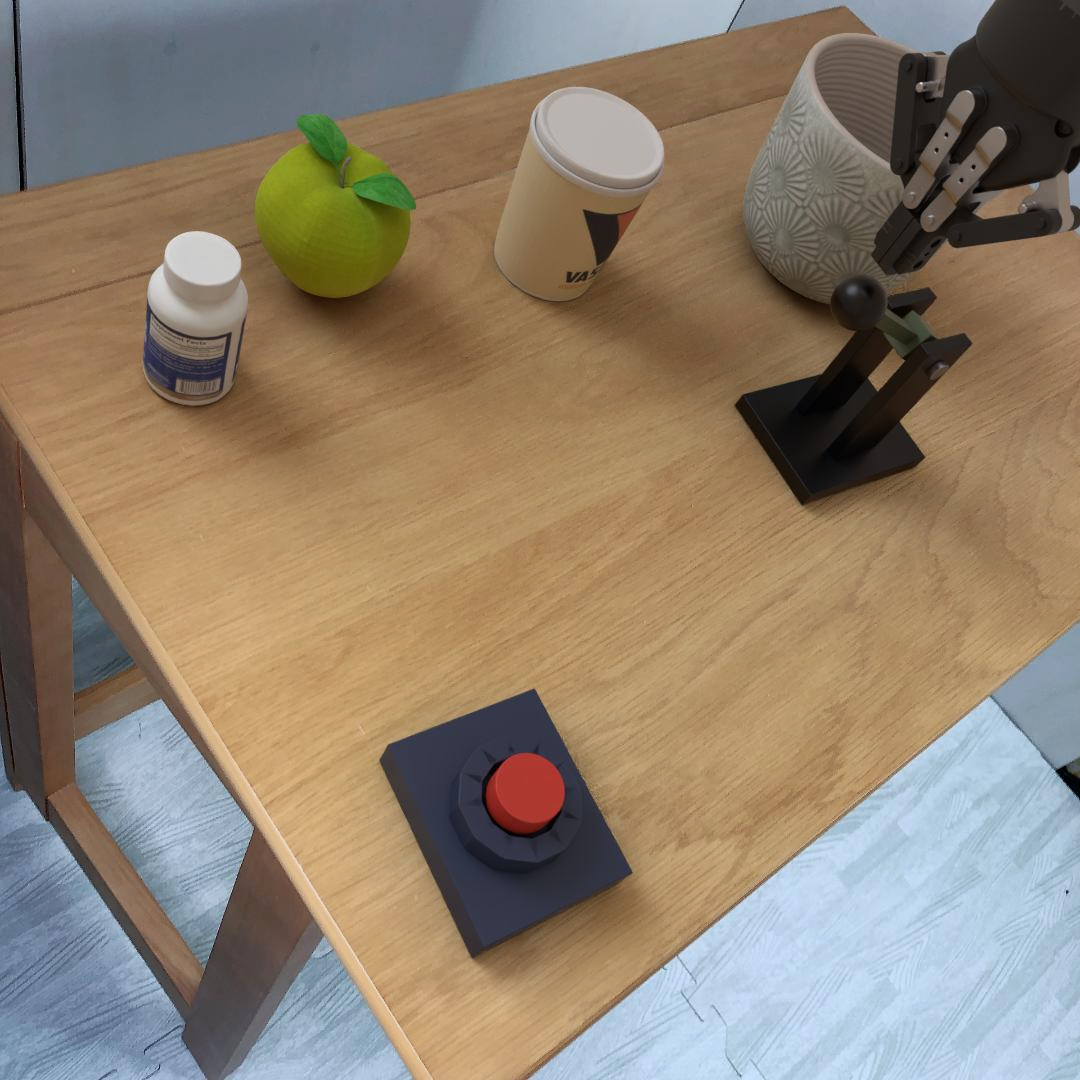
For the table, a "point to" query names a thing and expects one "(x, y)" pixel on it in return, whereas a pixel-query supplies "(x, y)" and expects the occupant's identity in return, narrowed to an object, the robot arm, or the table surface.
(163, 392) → the pill bottle
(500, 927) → the button block
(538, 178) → the coffee cup
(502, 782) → the button
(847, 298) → the lever
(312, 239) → the fruit
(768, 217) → the planter
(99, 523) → the table surface
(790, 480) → the bracket
